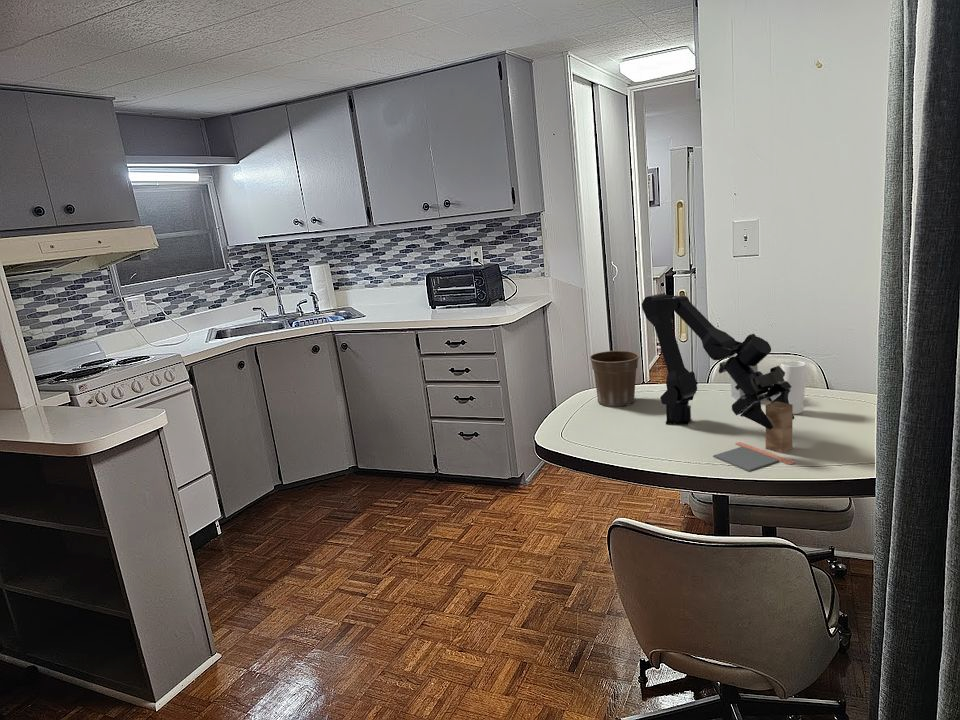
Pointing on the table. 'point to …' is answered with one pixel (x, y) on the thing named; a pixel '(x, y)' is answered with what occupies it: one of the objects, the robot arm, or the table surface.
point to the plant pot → (615, 377)
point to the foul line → (765, 453)
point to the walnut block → (779, 426)
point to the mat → (745, 458)
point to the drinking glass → (795, 383)
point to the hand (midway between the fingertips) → (782, 423)
